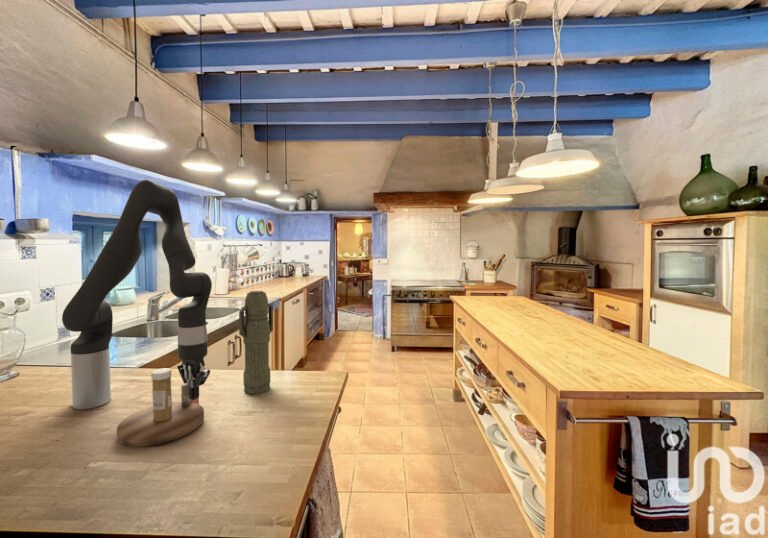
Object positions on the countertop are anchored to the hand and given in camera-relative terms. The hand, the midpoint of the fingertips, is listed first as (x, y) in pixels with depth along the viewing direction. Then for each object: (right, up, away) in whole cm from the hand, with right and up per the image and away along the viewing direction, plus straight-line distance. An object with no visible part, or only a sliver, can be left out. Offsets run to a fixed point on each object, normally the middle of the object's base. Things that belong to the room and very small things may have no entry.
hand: (194, 398), depth 100 cm
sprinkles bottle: (-5, -3, -7) cm, 9 cm away
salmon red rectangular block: (-3, -5, +5) cm, 8 cm away
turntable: (-5, -6, -6) cm, 10 cm away
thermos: (+11, -5, +20) cm, 23 cm away
